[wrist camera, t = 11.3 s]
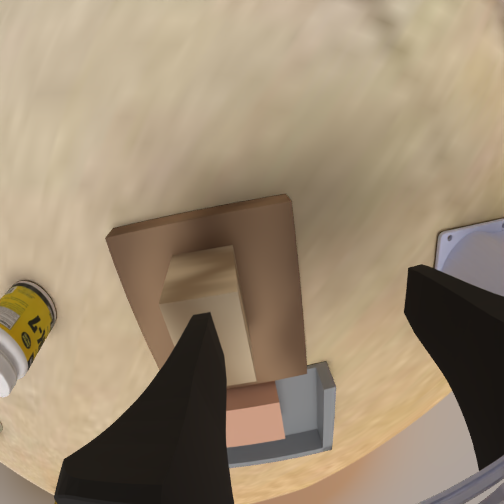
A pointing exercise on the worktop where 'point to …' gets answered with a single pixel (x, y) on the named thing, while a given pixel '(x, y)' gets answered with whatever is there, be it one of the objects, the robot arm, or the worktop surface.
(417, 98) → the worktop surface
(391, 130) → the worktop surface
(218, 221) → the board
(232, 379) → the tall beige block
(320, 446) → the tray
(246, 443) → the pink square block
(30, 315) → the supplement bottle
